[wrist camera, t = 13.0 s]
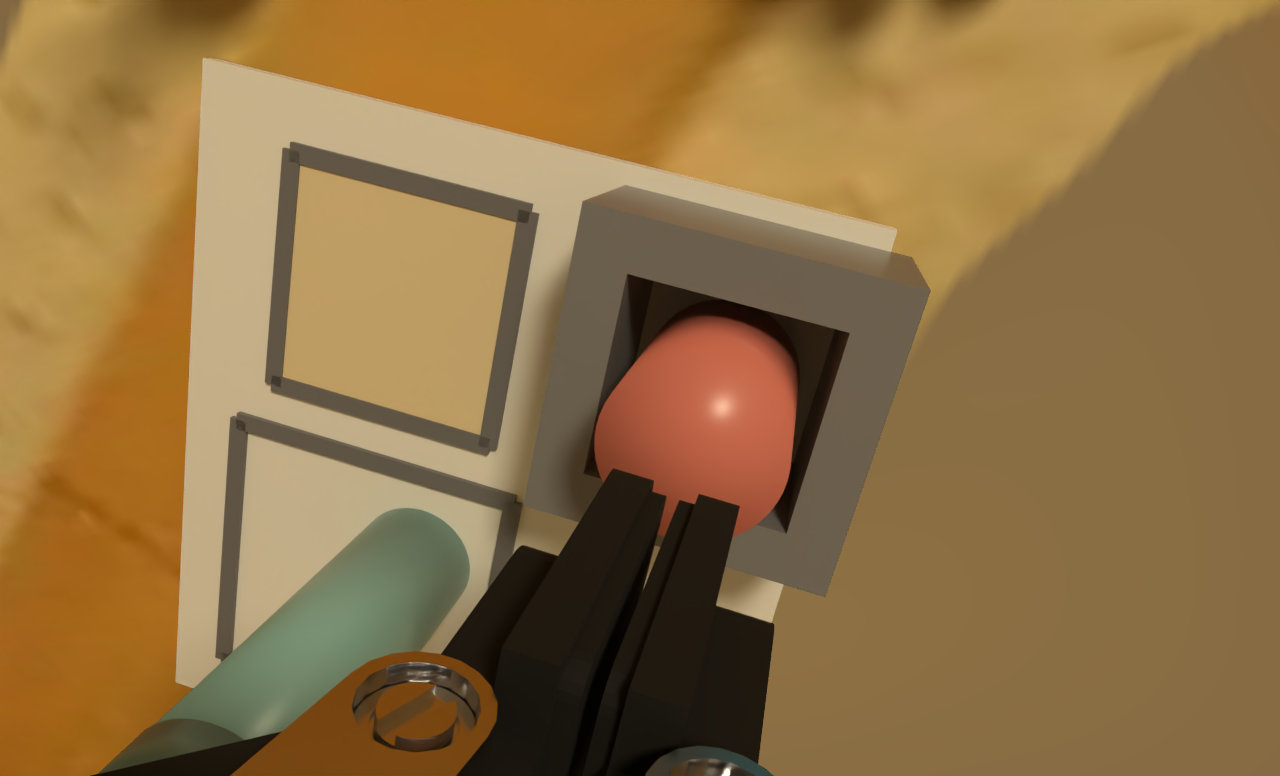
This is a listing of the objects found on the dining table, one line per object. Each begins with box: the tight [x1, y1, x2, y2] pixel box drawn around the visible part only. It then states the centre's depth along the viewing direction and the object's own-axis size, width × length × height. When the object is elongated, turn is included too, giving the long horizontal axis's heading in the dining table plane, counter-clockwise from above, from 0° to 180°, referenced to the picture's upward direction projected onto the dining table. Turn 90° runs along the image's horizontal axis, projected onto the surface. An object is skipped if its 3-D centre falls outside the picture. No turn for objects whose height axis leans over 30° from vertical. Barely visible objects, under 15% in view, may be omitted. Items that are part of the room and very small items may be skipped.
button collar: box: [523, 185, 931, 597], centre depth 20 cm, size 7×7×4 cm
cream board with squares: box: [176, 58, 897, 688], centre depth 25 cm, size 18×20×1 cm
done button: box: [594, 299, 800, 537], centre depth 18 cm, size 4×4×5 cm
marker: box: [98, 508, 470, 774], centre depth 21 cm, size 4×4×11 cm
